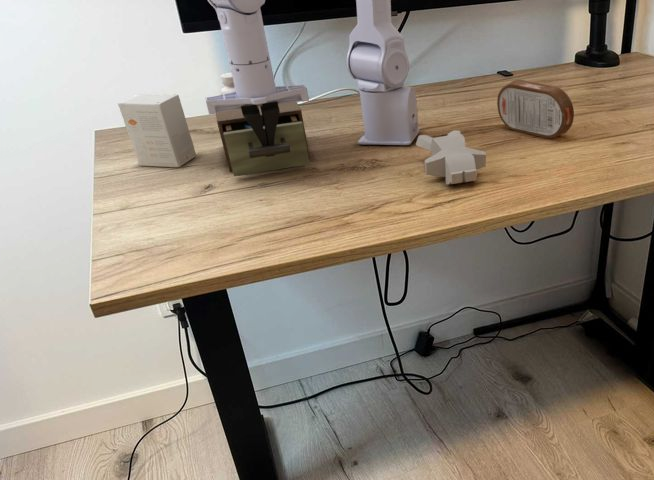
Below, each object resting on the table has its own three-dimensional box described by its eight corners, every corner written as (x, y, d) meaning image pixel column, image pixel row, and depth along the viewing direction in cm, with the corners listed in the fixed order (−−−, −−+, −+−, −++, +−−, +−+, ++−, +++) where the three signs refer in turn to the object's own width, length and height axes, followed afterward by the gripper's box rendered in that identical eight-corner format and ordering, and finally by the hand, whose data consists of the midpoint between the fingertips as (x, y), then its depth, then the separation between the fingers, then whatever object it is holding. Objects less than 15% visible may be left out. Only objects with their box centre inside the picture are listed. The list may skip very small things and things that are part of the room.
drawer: (314, 174, 102) (307, 132, 98) (236, 187, 99) (225, 144, 95) (299, 141, 115) (292, 103, 111) (229, 152, 112) (219, 113, 108)
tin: (573, 139, 112) (576, 87, 107) (562, 144, 110) (565, 92, 105) (505, 123, 120) (505, 75, 116) (494, 128, 119) (494, 79, 114)
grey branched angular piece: (432, 166, 93) (408, 124, 104) (433, 198, 96) (410, 154, 107) (495, 157, 95) (465, 117, 105) (494, 189, 98) (465, 147, 109)
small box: (197, 156, 114) (180, 94, 107) (179, 168, 109) (159, 103, 103) (157, 155, 115) (138, 93, 109) (138, 166, 111) (116, 102, 105)
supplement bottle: (250, 131, 124) (238, 78, 118) (224, 131, 125) (211, 78, 119) (262, 123, 128) (251, 70, 122) (237, 122, 129) (225, 70, 123)
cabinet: (310, 159, 110) (301, 109, 105) (229, 172, 107) (216, 121, 102) (298, 136, 120) (290, 90, 115) (225, 147, 117) (213, 100, 112)
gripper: (197, 72, 88) (222, 170, 96) (304, 59, 91) (320, 155, 99) (196, 62, 93) (220, 155, 101) (297, 50, 97) (313, 141, 105)
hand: (269, 154), depth 101 cm, fingers closed, pressing on drawer
